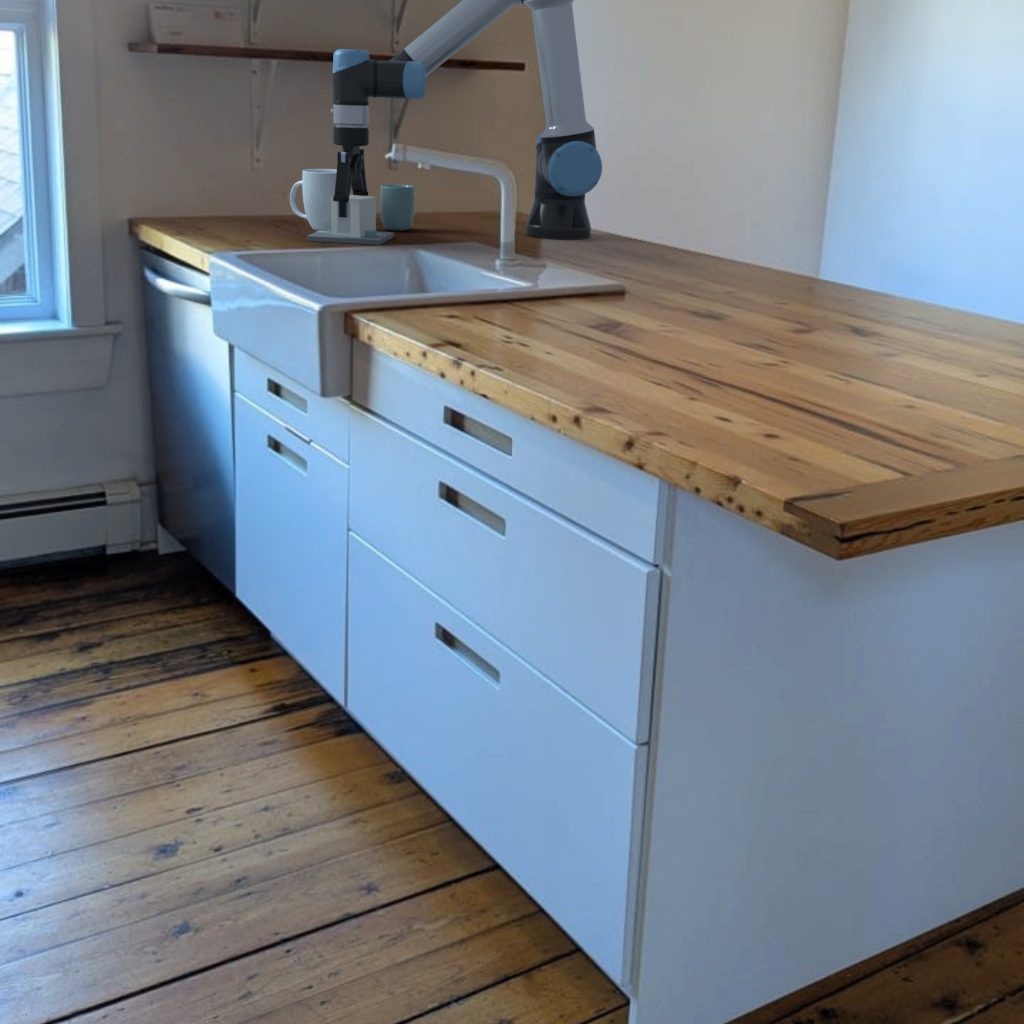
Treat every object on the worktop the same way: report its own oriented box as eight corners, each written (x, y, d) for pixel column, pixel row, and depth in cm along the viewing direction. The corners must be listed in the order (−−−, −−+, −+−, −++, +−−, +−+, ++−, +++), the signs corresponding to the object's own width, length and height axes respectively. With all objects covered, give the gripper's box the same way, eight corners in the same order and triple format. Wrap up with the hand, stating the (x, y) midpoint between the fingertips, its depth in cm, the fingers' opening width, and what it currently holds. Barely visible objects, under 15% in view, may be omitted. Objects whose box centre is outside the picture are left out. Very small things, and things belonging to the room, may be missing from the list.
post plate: (393, 236, 293) (394, 204, 291) (379, 244, 280) (380, 211, 278) (323, 233, 295) (323, 201, 292) (306, 240, 282) (306, 207, 279)
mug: (279, 228, 299) (278, 169, 295) (302, 224, 309) (301, 166, 305) (338, 233, 295) (337, 173, 290) (360, 229, 304) (359, 170, 300)
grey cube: (342, 231, 291) (342, 194, 289) (381, 234, 288) (381, 197, 285) (325, 234, 285) (325, 196, 283) (365, 238, 282) (365, 199, 279)
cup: (375, 230, 303) (375, 185, 300) (388, 227, 310) (388, 183, 307) (406, 232, 301) (407, 188, 298) (418, 229, 308) (419, 185, 305)
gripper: (347, 123, 291) (347, 222, 298) (318, 127, 269) (319, 235, 276) (380, 124, 291) (380, 224, 297) (354, 129, 268) (354, 236, 275)
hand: (351, 229), depth 287 cm, fingers open, 12 cm apart
